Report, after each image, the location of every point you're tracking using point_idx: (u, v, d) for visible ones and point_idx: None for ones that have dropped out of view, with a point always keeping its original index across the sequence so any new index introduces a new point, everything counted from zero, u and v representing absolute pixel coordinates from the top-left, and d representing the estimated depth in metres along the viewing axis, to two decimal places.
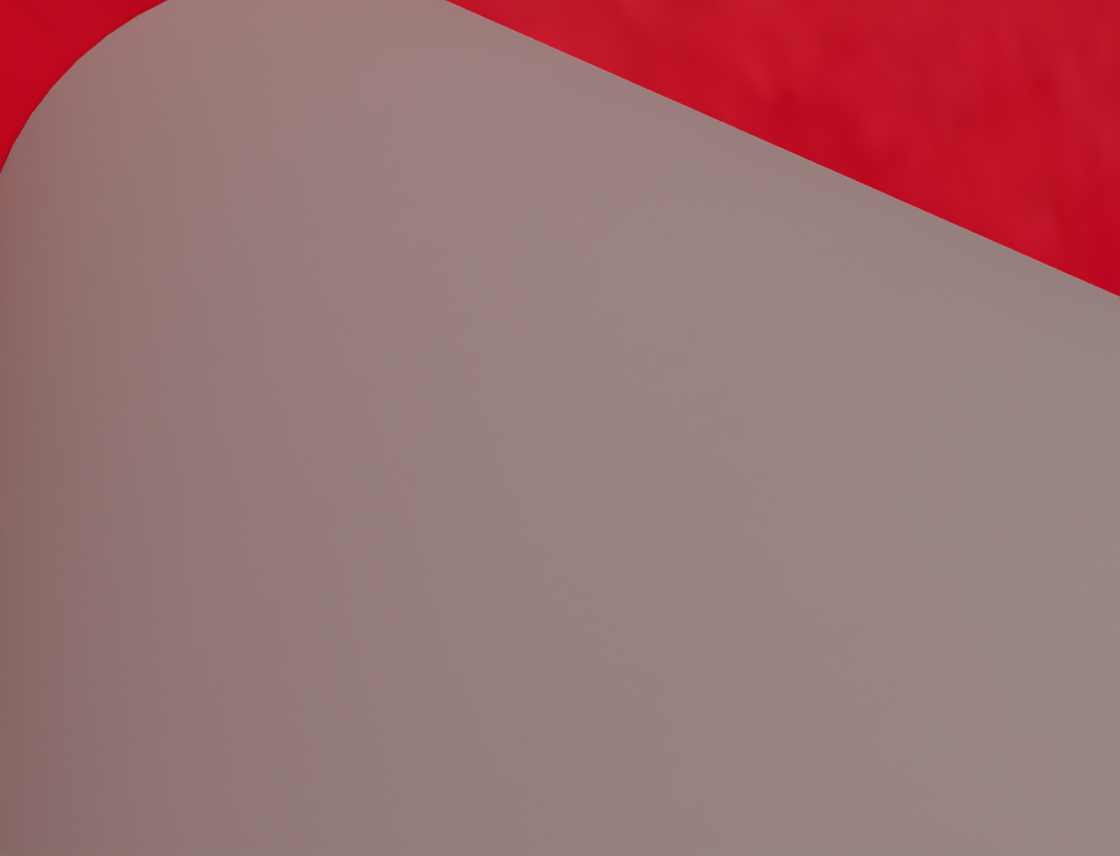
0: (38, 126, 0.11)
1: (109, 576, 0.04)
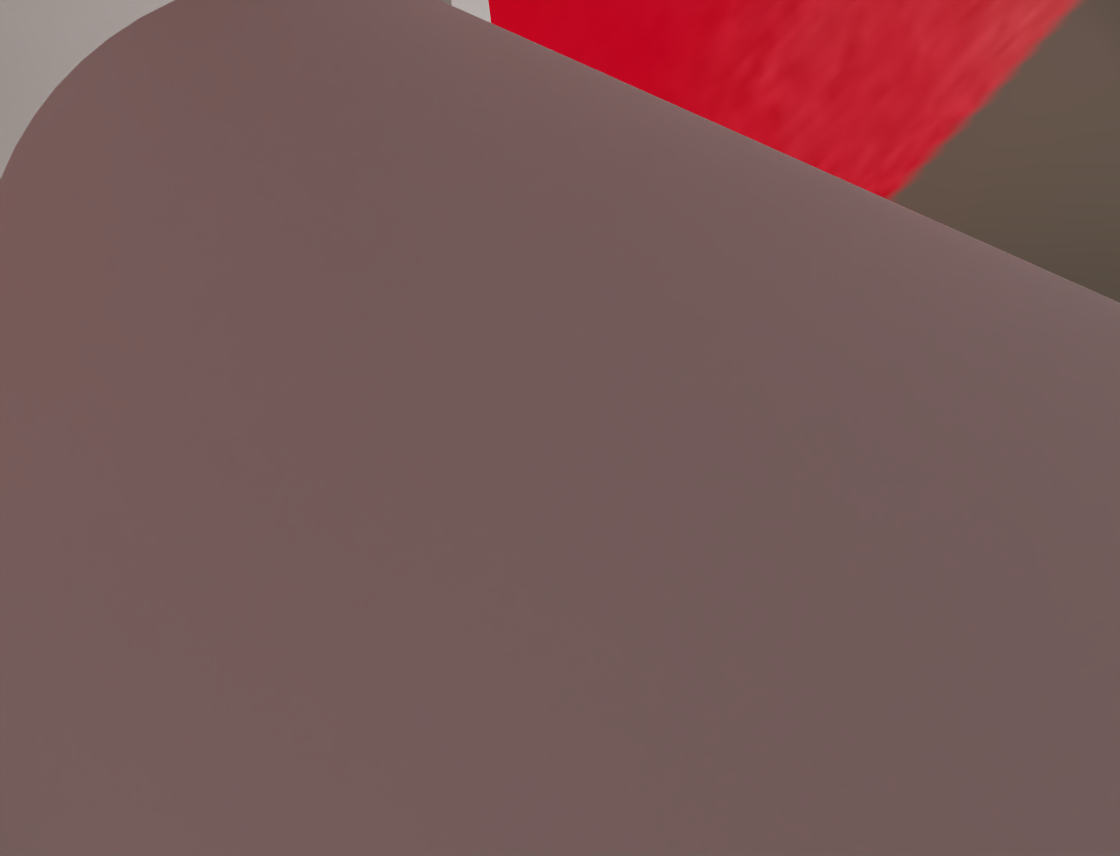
0: (40, 128, 0.11)
1: (111, 579, 0.04)
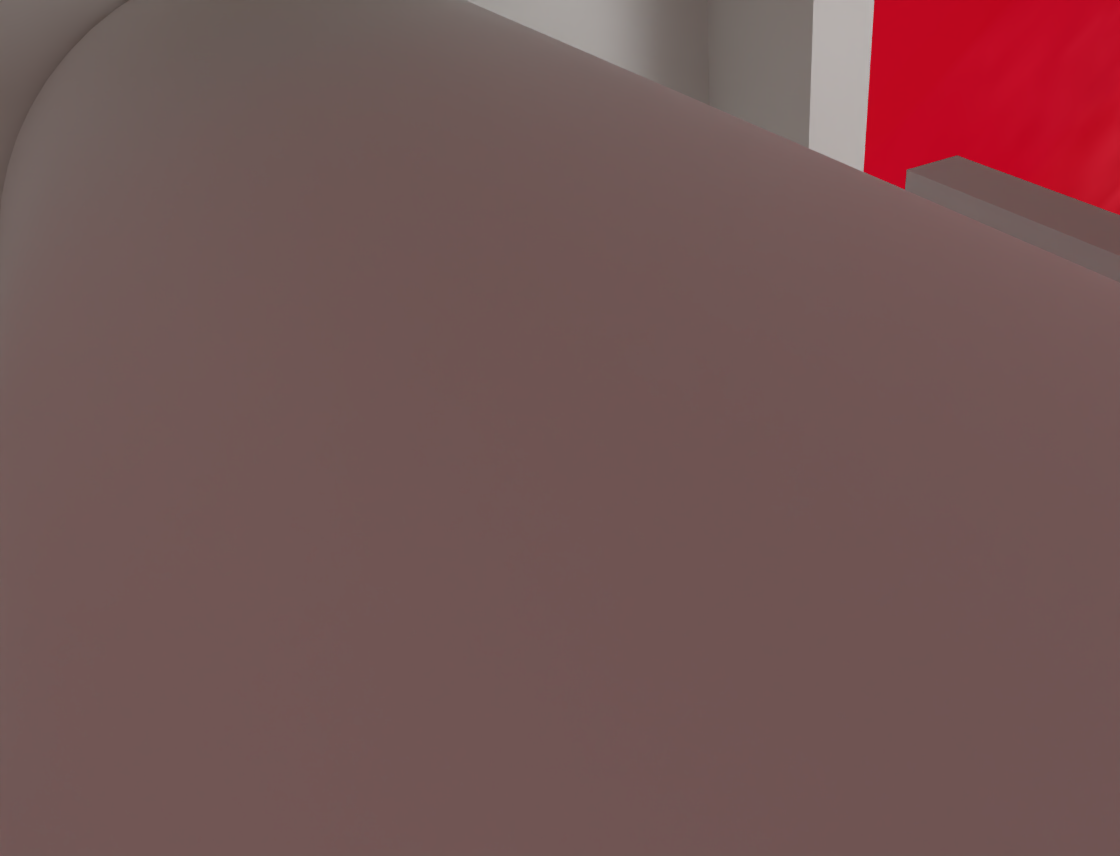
0: (54, 88, 0.12)
1: (129, 395, 0.06)
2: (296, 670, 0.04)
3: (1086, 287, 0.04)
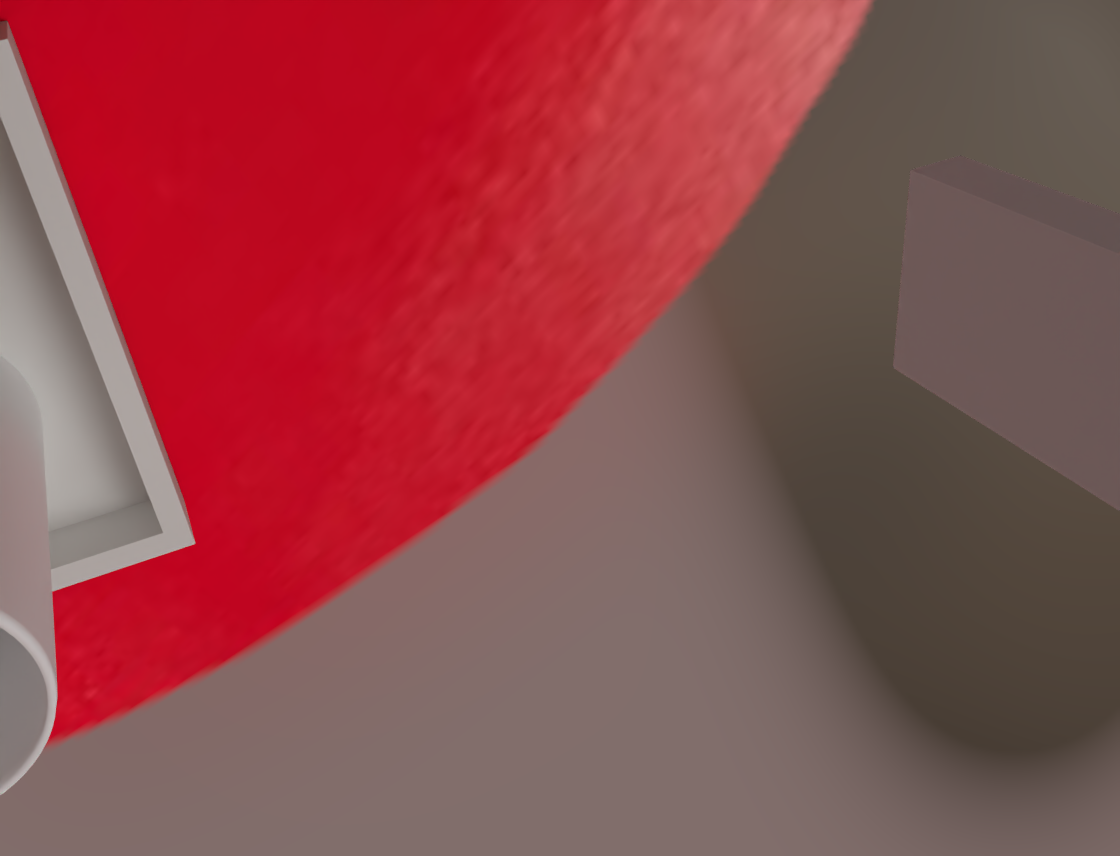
0: None
1: None
2: None
3: None
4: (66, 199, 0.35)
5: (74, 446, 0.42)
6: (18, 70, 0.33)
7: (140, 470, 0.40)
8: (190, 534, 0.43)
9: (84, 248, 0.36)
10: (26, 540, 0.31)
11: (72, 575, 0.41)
